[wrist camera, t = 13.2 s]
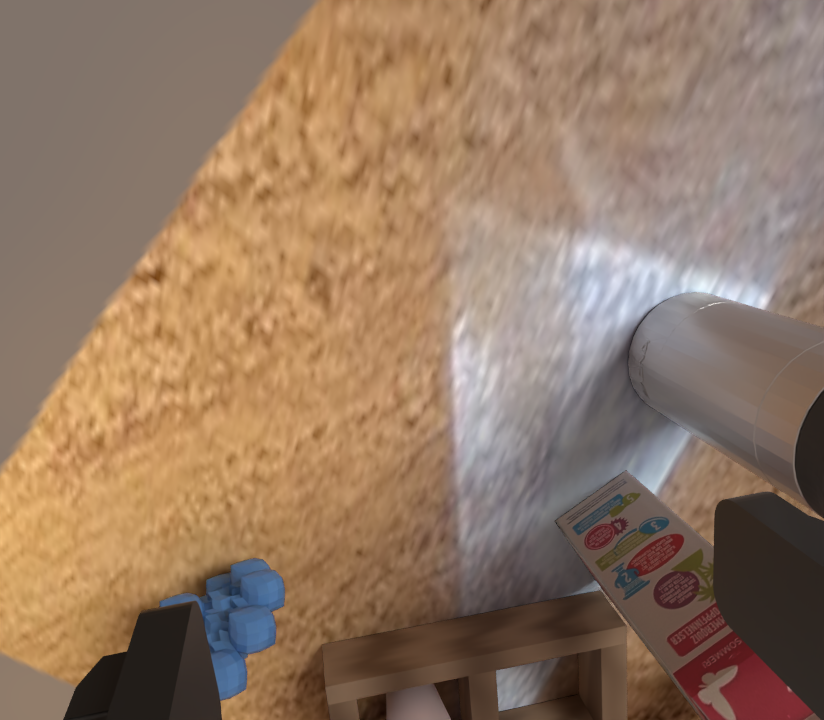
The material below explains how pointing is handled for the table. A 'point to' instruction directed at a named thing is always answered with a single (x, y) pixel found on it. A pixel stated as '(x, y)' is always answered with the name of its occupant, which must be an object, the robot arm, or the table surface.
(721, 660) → the juice carton
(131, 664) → the robot arm
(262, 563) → the grapes
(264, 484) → the table surface
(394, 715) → the smoothie
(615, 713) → the slot rack
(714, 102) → the table surface
